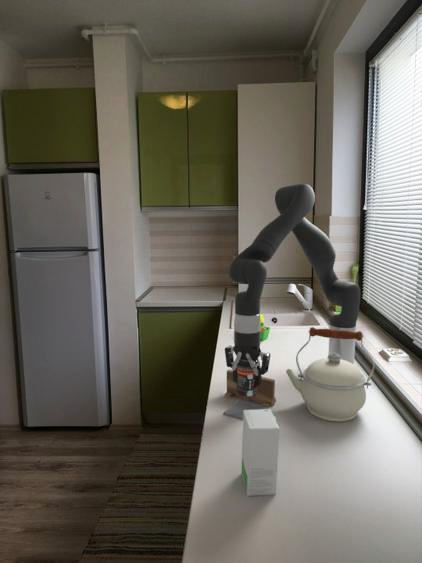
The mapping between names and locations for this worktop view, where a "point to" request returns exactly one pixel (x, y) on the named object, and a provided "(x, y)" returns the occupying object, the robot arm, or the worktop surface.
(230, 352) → the robot arm
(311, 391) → the kettle
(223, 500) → the worktop surface
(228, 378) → the wooden panel
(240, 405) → the mat
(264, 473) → the skincare box
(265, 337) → the fruit basket
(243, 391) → the supplement bottle
